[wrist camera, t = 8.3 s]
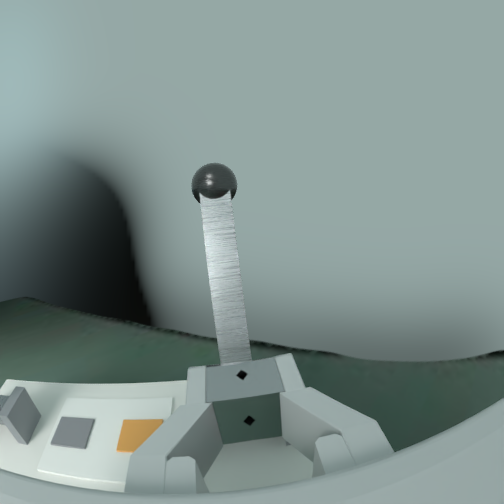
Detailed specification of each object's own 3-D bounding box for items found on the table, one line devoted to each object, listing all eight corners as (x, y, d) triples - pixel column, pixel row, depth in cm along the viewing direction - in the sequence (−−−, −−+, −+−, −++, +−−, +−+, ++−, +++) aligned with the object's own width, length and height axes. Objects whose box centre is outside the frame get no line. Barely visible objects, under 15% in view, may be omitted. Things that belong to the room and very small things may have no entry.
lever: (217, 443, 13) (178, 160, 14) (218, 424, 15) (184, 175, 16) (279, 435, 13) (243, 152, 14) (273, 417, 15) (241, 168, 16)
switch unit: (-12, 499, 10) (-68, 438, 8) (28, 414, 19) (-6, 353, 17) (321, 524, 11) (334, 470, 9) (286, 408, 21) (283, 336, 19)
